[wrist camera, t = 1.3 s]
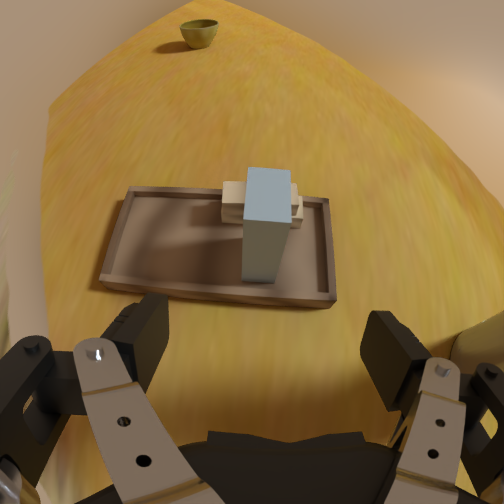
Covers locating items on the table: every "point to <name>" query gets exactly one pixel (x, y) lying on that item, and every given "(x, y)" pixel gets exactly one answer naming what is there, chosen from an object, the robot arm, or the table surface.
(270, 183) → the blue-grey rectangular block
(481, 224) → the table surface
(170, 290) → the brown serving tray
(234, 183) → the offcut stack
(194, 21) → the green bowl
